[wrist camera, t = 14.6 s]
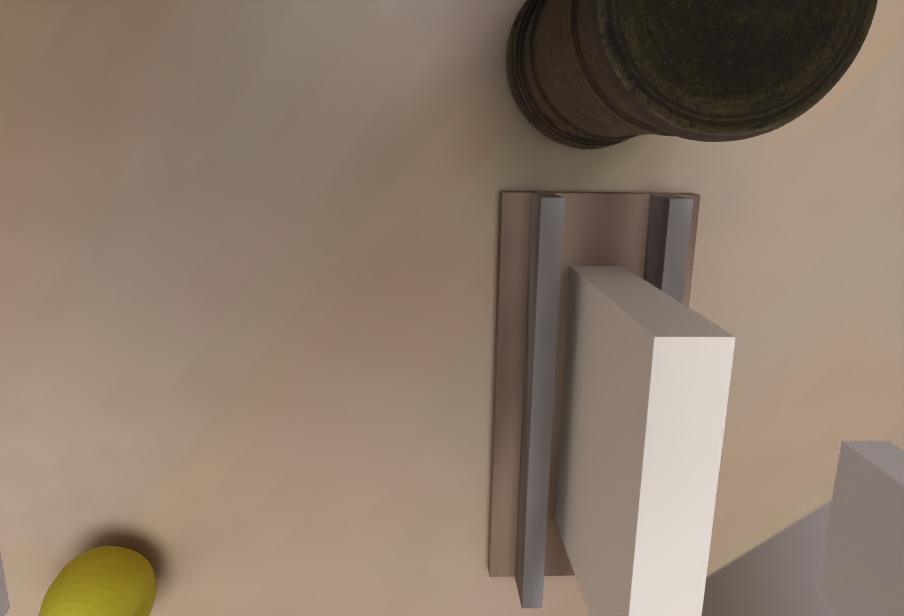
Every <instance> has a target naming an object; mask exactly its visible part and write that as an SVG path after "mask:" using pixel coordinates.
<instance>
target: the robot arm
mask: <svg viewBox="0 0 904 616" xmlns="http://www.w3.org/2000/svg"><path fill="white" fill-rule="evenodd" d="M816 593H817V594H818V595H819V596H820V597H821V598H822V600H823V601H824V602H825V603H826V604H827V605H828V606H829V607H830V609H831V610H832V611H833V612H834V613H835V614H836V616H904V450H902V449H900V448H899V447H897V446H896V445H894V444H893V443H891V442H890V441H842V443H841V449H840V455H839V461H838V467H837V473H836V478H835V484H834V490H833V496H832V502H831V508H830V514H829V520H828V526H827V532H826V538H825V544H824V550H823V556H822V562H821V567H820V573H819V579H818V586H817V592H816ZM9 609H10V605H9V599H8V593H7V588H6V582H5V576H4V570H3V564H2V558H1V552H0V616H4V615H5V613H6V612H7V611H8V610H9Z"/></svg>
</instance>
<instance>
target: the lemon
mask: <svg viewBox="0 0 904 616" xmlns="http://www.w3.org/2000/svg"><path fill="white" fill-rule="evenodd" d="M156 591H157V589H156V579H155V573H154V571H153V569H152V567H151V564H150V563H149V561H148V560H146V559H145V558H144V557H143V556H142V555H141V554H139V553H137V552H135V551H133V550H131V549H128V548H124V547H118V546H102V547H97V548H92V549H89V550H87V551H85V552H84V553H82V554H81V555H79V556H78V557H76V558H75V559H73V560H72V561H70V562H69V563H68V564H67V565H66V566H65V567H64V568H63V570H62V571H61V572H60V573H59V575H58V576H57V578H56V579H55V580H54V582H53V583H52V584H51V586H50V587H49V589H48V590H47V592H46V594H45V596H44V599H43V602H42V605H41V609H40V613H39V616H149V614H150V612H151V609H152V606H153V603H154V600H155V597H156Z"/></svg>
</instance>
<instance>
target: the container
mask: <svg viewBox="0 0 904 616" xmlns="http://www.w3.org/2000/svg"><path fill="white" fill-rule="evenodd" d="M877 1H878V0H527V1H526V2H525V4H524V5H523V7H522V8H521V10H520V12H519V13H518V15H517V18H516V20H515V22H514V25H513V28H512V31H511V34H510V39H509V44H508V53H507V63H508V75H509V80H510V84H511V88H512V91H513V94H514V97H515V99H516V101H517V103H518V105H519V107H520V108H521V110H522V111H523V113H524V114H525V116H526V117H527V118H528V119H529V121H530V122H531V123H532V124H533V125H534V126H535V127H536V128H537V129H538V130H540V131H541V132H542V133H543V134H545V135H546V136H548V137H549V138H551V139H553V140H555V141H557V142H559V143H561V144H564V145H567V146H570V147H574V148H580V149H598V148H604V147H608V146H611V145H614V144H618V143H620V142H623V141H625V140H627V139H629V138H632V137H635V136H638V135H642V134H657V135H664V136H678V137H681V138H684V139H689V140H696V141H705V142H723V141H736V140H742V139H747V138H751V137H755V136H758V135H761V134H764V133H767V132H770V131H773V130H775V129H777V128H780V127H782V126H783V125H785V124H787V123H789V122H791V121H793V120H794V119H796V118H797V117H799V116H800V115H802V114H803V113H805V112H806V111H808V110H809V109H810V108H812V107H813V106H814V105H815V104H816V103H818V102H819V101H820V100H821V99H822V98H823V97H824V96H825V95H826V94H827V93H828V92H829V91H830V90H831V89H832V88H833V87H834V86H835V85H836V83H837V82H838V81H839V80H840V79H841V77H842V76H843V75H844V74H845V72H846V71H847V70H848V68H849V67H850V65H851V64H852V62H853V61H854V59H855V57H856V56H857V54H858V52H859V51H860V49H861V47H862V45H863V43H864V41H865V39H866V36H867V34H868V31H869V29H870V26H871V23H872V20H873V17H874V13H875V10H876V6H877Z"/></svg>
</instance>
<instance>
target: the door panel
mask: <svg viewBox="0 0 904 616" xmlns="http://www.w3.org/2000/svg"><path fill="white" fill-rule="evenodd" d="M734 345H735V336H733V335H732V334H730V333H728V332H727V331H725V330H724V329H722V328H720V327H719V326H717V325H716V324H714V323H712V322H711V321H709V320H708V319H706V318H704V317H703V316H701V315H700V314H698V313H696V312H695V311H693V310H692V309H690V308H688V307H687V306H685V305H684V304H682V303H680V302H679V301H677V300H676V299H674V298H672V297H671V296H669V295H668V294H666V293H664V292H663V291H661V290H660V289H658V288H657V287H655V286H653V285H652V284H650V283H649V282H647V281H645V280H644V279H642V278H641V277H639V276H637V275H636V274H634V273H633V272H631V271H629V270H628V269H626V268H625V267H623V266H570V276H569V293H568V310H567V327H566V344H565V361H564V378H563V395H562V412H561V429H560V446H559V463H558V480H557V496H556V513H555V521H556V524H557V527H558V529H559V532H560V535H561V538H562V541H563V543H564V546H565V549H566V552H567V554H568V557H569V560H570V563H571V566H572V568H573V571H574V574H575V577H576V579H577V582H578V585H579V588H580V591H581V593H582V596H583V599H584V602H585V605H586V607H587V610H588V613H589V616H701V614H702V606H703V598H704V590H705V582H706V574H707V565H708V557H709V549H710V541H711V533H712V525H713V517H714V508H715V500H716V492H717V484H718V476H719V468H720V459H721V451H722V443H723V435H724V427H725V419H726V411H727V402H728V394H729V386H730V378H731V370H732V362H733V354H734Z"/></svg>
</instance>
